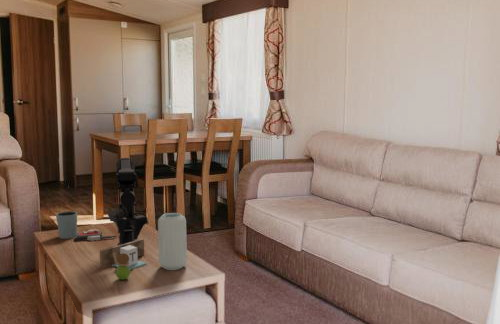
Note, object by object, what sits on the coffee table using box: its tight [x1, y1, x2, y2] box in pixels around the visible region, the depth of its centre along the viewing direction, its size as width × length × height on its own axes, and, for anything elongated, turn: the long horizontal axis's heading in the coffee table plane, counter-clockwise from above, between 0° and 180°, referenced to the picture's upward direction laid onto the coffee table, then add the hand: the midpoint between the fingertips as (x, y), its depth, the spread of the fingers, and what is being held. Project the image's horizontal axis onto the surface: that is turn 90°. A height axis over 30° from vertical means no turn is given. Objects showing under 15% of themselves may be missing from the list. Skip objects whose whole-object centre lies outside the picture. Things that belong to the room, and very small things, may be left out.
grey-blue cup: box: [55, 210, 78, 240], centre depth 254 cm, size 10×10×12 cm
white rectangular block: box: [120, 245, 139, 266], centre depth 212 cm, size 5×5×7 cm
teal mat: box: [111, 260, 147, 271], centre depth 213 cm, size 10×10×1 cm
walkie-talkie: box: [73, 228, 117, 242], centre depth 252 cm, size 9×4×20 cm
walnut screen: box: [99, 238, 145, 268], centre depth 218 cm, size 22×2×7 cm, turn 141°
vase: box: [157, 212, 188, 271], centre depth 209 cm, size 12×12×22 cm
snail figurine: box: [112, 249, 131, 281], centre depth 196 cm, size 5×6×12 cm
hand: (128, 237), depth 211 cm, fingers open, 9 cm apart
